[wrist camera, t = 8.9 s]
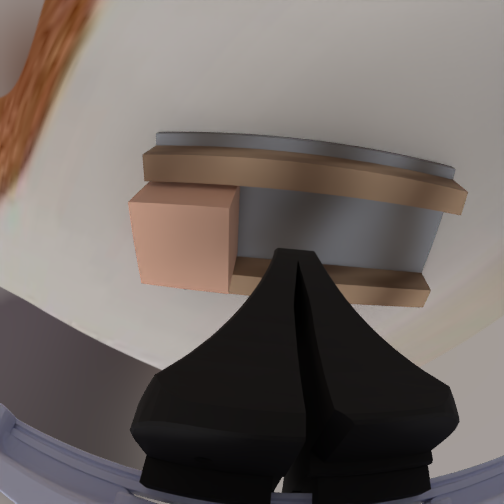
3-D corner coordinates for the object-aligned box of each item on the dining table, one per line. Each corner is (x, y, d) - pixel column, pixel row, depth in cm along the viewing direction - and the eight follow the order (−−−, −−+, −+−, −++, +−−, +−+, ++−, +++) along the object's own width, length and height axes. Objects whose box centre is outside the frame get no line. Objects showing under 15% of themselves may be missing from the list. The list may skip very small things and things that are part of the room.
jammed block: (240, 178, 17) (229, 208, 14) (237, 253, 20) (228, 293, 16) (156, 174, 17) (128, 202, 14) (163, 246, 20) (141, 283, 17)
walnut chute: (451, 166, 16) (471, 181, 13) (409, 292, 21) (419, 314, 19) (158, 132, 16) (141, 141, 14) (169, 271, 22) (159, 293, 20)
